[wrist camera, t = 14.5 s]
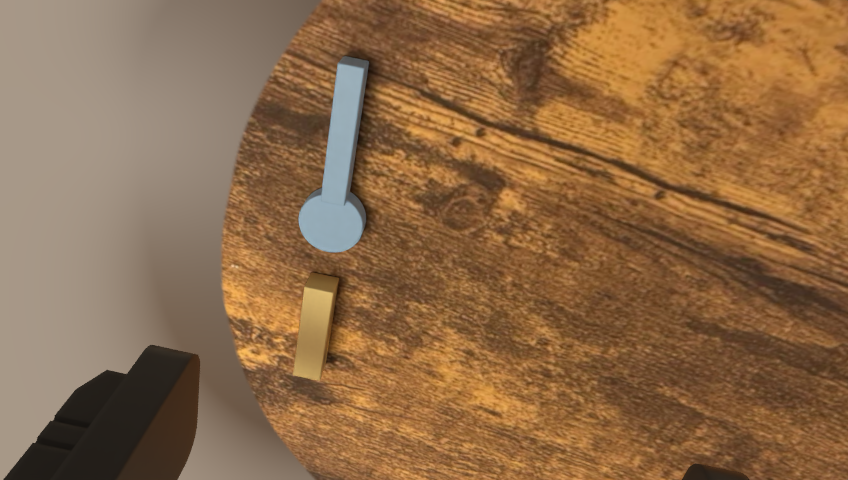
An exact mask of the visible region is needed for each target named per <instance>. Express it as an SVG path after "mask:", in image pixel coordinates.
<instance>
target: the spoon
mask: <svg viewBox="0 0 848 480" xmlns="http://www.w3.org/2000/svg"><path fill="white" fill-rule="evenodd" d="M368 67H369V61H367V60H362V59H357V58H352V57H348V56H343V58H342V59H341V60H340V61H339V63H338V65H337V73H336V81H335V89H334V97H333V105H332V113H331V121H330V129H329V137H328V145H327V153H326V161H325V169H324V176H323V184H322V188H320V189H318V190H316V191H314V192H313V193H311V194H310V195H309V197H308V198H307V199H306V201H305V203H304V205H303V206H302V208H301V210H300V213H299V227H300V230H301V232H302V234H303V236H304V237H305V239H306V240H307V241H308V242H309V243H310V244H311V245H313V246H314V247H316V248H318V249H320V250H323V251H326V252H342V251H345V250H348V249H350V248H351V247H353V246H354V245H355V244H356V243H357V242H358V241H359V239H360V238H361V235H362V233H363V230H364V227H365V224H366V213H365V209H364V207H363V205H362V203H361V202H360V200H359V199H358V198H357V197H356V196H355V195H354V194H353V193H351V192H350V188H351V181H352V175H353V168H354V161H355V154H356V148H357V141H358V134H359V127H360V121H361V114H362V107H363V100H364V94H365V87H366V80H367V74H368Z"/></svg>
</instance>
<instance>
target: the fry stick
mask: <svg viewBox="0 0 848 480" xmlns="http://www.w3.org/2000/svg"><path fill="white" fill-rule="evenodd" d="M338 283H339V278H337V277H332V276H327V275H323V274H318V273H313V272H311V274H310V276H309V278H308V280H307V282H306V285H305V287H304V294H303V301H302V309H301V317H300V325H299V332H298V340H297V348H296V356H295V363H294V371H293V375H295V376H299V377H304V378H309V379H313V380H318V381H320V379H321V376H322V373H323V370H324V367H325V364H326V359H327V352H328V346H329V340H330V333H331V327H332V321H333V314H334V308H335V302H336V295H337V289H338Z"/></svg>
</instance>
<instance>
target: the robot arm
mask: <svg viewBox="0 0 848 480" xmlns="http://www.w3.org/2000/svg"><path fill="white" fill-rule="evenodd" d="M199 373H200V359H199V357H198V355H196V354H192V353H187V352H183V351H178V350H173V349H169V348H164V347H159V346H155V345H150V346H148V347H147V348H146V349H145V350H144V351H143V353H142V354H141V355H140V357H139V358H138V360H137V361H136V362H135V364H134V365H133V366H132V368H131V369H130V371H129V372H128V374H123V373H118V372H114V371H109V370H106V371H105V372H103V373H101V374H100V375H98V376H97V377H95V378H93V379H92V380H90V381H89V382H87V383H85V384H84V385H82V386H81V387H79V388H77V389H76V390H75V391H74V392H73V394H72V395H71V396H70V397H69V399H68V400H67V401H66V402H65V404H64V405H63V406H62V407H61V409H60V410H59V411H58V412H57V414H56V415H55V418H54V420H53V421H50V422H49V424H48V425H47V426H46V427H45V429H44V430H43V431H42V432H41V433H40V435H39V436H38V438H37V441H36V443H32V445H31V446H30V447H29V449H28V450H27V451H26V452H25V454H24V455H23V456H22V457H21V458H20V460H19V461H18V462H17V463H16V465H15V466H14V467H13V468H12V470H11V471H10V472H9V473H8V475H7V476H6V477H5V478H4V480H177V479H178V477H179V476H180V474H181V472H182V470H183V468H184V466H185V464H186V462H187V459H188V457H189V454H190V452H191V448H192V446H193V442H194V438H195V434H196V428H197V414H198V393H199ZM682 480H749V479H748V477H747V476H746V475H744V474H743V473H739V472H734V471H730V470H725V469H720V468H716V467H711V466H706V465H702V464H693V465H692V466H690V467H689V469H688V470H687V472H686V473H685V475H684V477H683V479H682Z"/></svg>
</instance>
